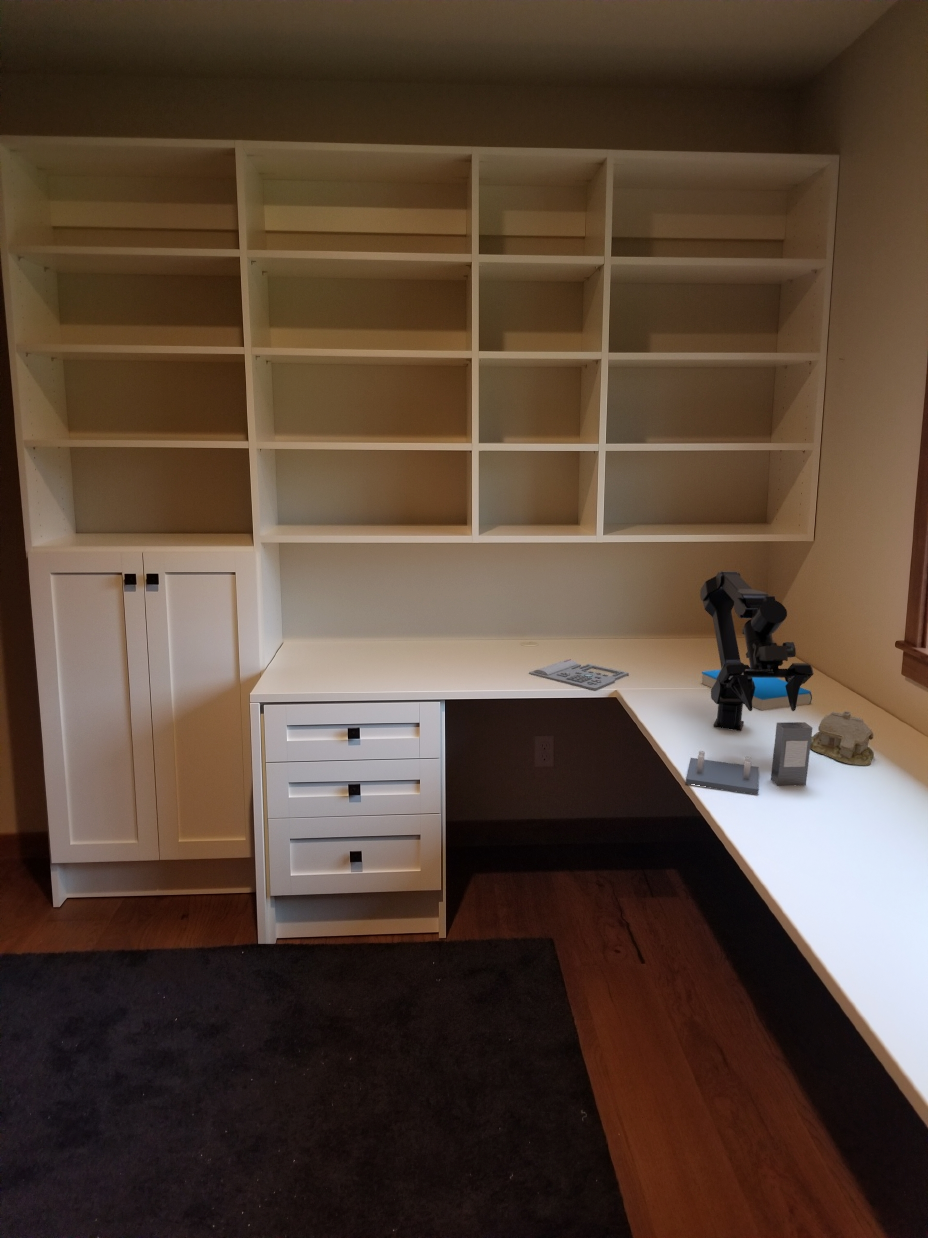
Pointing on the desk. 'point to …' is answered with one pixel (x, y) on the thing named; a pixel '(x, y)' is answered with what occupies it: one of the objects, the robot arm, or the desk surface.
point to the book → (765, 691)
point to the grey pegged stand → (723, 774)
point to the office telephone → (579, 674)
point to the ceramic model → (844, 739)
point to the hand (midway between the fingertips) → (772, 710)
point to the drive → (791, 753)
